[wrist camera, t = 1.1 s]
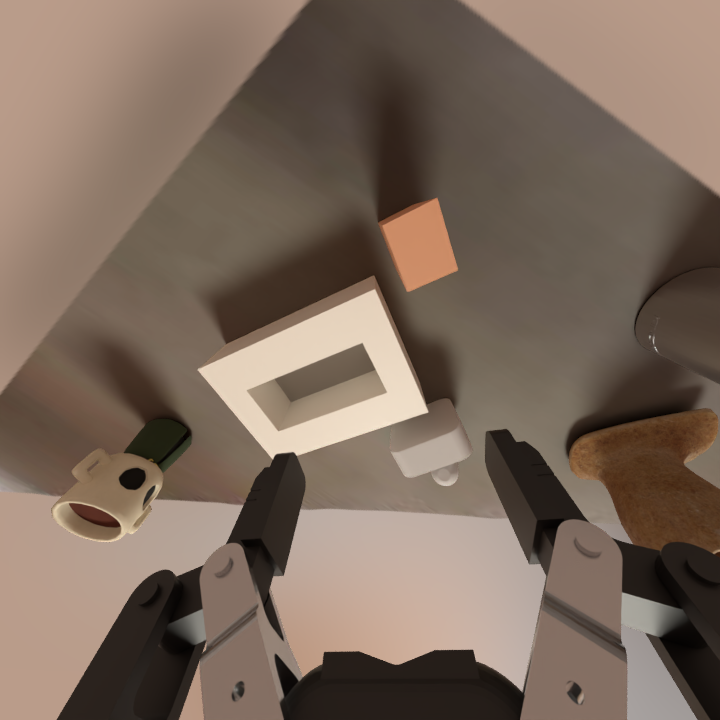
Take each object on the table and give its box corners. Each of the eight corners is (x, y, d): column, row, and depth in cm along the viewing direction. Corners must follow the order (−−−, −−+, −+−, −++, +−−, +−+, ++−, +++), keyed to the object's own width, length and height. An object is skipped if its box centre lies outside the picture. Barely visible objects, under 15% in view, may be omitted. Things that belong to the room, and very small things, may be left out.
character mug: (210, 457, 41) (148, 550, 30) (167, 461, 42) (90, 554, 30) (176, 398, 36) (86, 483, 25) (128, 404, 37) (18, 490, 25)
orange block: (413, 204, 25) (437, 197, 16) (428, 252, 27) (457, 270, 18) (377, 222, 26) (382, 225, 17) (395, 267, 27) (407, 292, 19)
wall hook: (423, 471, 40) (430, 529, 31) (391, 412, 38) (388, 455, 29) (477, 452, 38) (502, 508, 29) (446, 389, 36) (461, 427, 27)
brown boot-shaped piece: (563, 483, 41) (654, 609, 28) (563, 425, 36) (674, 546, 23) (678, 462, 39) (840, 591, 25) (695, 397, 34) (909, 515, 20)
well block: (373, 275, 28) (375, 288, 23) (419, 381, 34) (428, 412, 28) (226, 344, 32) (197, 369, 27) (288, 428, 38) (275, 462, 33)
